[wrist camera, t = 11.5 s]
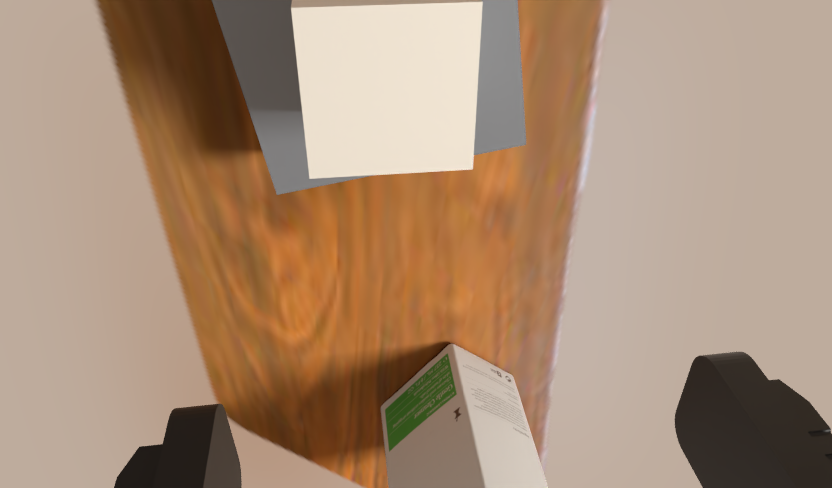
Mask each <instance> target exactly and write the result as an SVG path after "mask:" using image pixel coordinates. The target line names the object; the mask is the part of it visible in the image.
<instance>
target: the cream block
mask: <svg viewBox="0 0 832 488" xmlns="http://www.w3.org/2000/svg"><path fill="white" fill-rule="evenodd" d="M482 6H483V1H482V0H292V4H291V13H292V22H293V31H294V41H295V50H296V59H297V68H298V78H299V87H300V96H301V105H302V115H303V124H304V133H305V142H306V151H307V161H308V170H309V179H315V178H333V177H350V176H367V175H384V174H401V173H419V172H436V171H453V170H470V169H473V158H474V141H475V124H476V107H477V90H478V74H479V57H480V40H481V23H482Z"/></svg>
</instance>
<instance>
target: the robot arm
mask: <svg viewBox="0 0 832 488" xmlns="http://www.w3.org/2000/svg"><path fill="white" fill-rule="evenodd" d="M675 428H676V434H677V438H678V441H679V444H680V446H681V448H682V450H683V452H684V454H685V456H686V458H687V459H688V461H689V463H690V465H691V467H692V469H693V470H694V472H695V474H696V476H697V478H698V479H699V481H700V483H701V485H702V487H703V488H832V434H831V431H830V430H831V429H830V428H829V426H828V425H827V424H826V422H825V421H824V420H823V419H822V418H821V416H820V415H819V414H818V412H817V411H816V410H815V409H814V407H813V406H812V405H811V404H810V402H808V401H807V400H806V399H805V398H803V397H802V396H801V395H799V394H798V393H797V392H795V391H794V390H793V389H791V388H790V387H789V386H787V385H786V384H784V383H783V382H782V381H780V380H779V379H778V380H768V379H767V377H766V376H765V375H764V373H763V372H762V371H761V369H760V368H759V367H758V365H757V364H756V363H755V361H754V360H753V359H752V358H751V357H750V356H749V355H748V354H746V353H744V352H732V353H722V354H712V355H703V356H698V357H696V358H695V359H694V361H693V363H692V366H691V368H690V372H689V375H688V377H687V380H686V383H685V386H684V389H683V392H682V395H681V398H680V401H679V404H678V407H677V410H676V414H675ZM114 488H241V469H240V462H239V458H238V454H237V451H236V447H235V444H234V440H233V437H232V433H231V430H230V426H229V423H228V419H227V416H226V412H225V409H224V407H223V405H222V404H213V405H204V406H194V407H186V408H176V409H174V410H172V412H171V414H170V417H169V420H168V424H167V429H166V433H165V437H164V441H163V444H161V445H153V446H143V447H139V448H138V449H137V451H136V452H135V454H134V455H133V456H132V458H131V459H130V461H129V462H128V463H127V465H126V466H125V467H124V469H123V470H122V471H121V473H120V474H119V476H118V477H117V480H116V483H115V486H114Z"/></svg>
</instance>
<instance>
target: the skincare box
mask: <svg viewBox="0 0 832 488" xmlns="http://www.w3.org/2000/svg"><path fill="white" fill-rule="evenodd" d="M381 416H382V426H383V435H384V446H385V455H386V465H387V475H388V485H389V488H548V485H547V482H546V479H545V476H544V473H543V469H542V466H541V463H540V460H539V457H538V454H537V451H536V447H535V444H534V441H533V438H532V435H531V432H530V429H529V426H528V422H527V419H526V416H525V413H524V409H523V406H522V403H521V400H520V396H519V393H518V390H517V387H516V384H515V381H514V378H513V376H512V375H511V374H509V373H507V372H505V371H503V370H502V369H500V368H498V367H496V366H494V365H492V364H491V363H489V362H487V361H485V360H483V359H481V358H479V357H478V356H476V355H474V354H472V353H470V352H468V351H466V350H464V349H463V348H461V347H459V346H457V345H455V344H449V345H448V346H447V347H445V348H444V349H443V350H442V351H441V352H440V353H439V354H438V355H437V356H436V357H435V358H434V359H432V360H431V361H430V362H429V363H428V364H427V365H426V366H424V367H423V368H422V369H421V370H420V371H419V372H418V373H417V374H416V375H415V376H414V377H413V378H411V379H410V380H409V381H408V382H407V383H406V384H405V385H404V386H403V387H402V388H400V389H399V390H398V391H397V392H396V393H395V394H394V395H393V396H392V397H391V398H389V399H388V400H387V401H386V402H385V403H384V404H383V405H382V406H381Z"/></svg>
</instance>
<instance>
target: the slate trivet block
mask: <svg viewBox="0 0 832 488" xmlns="http://www.w3.org/2000/svg"><path fill="white" fill-rule="evenodd" d="M482 1H483V6H482V23H481V40H480V57H479V74H478V90H477V107H476V124H475V141H474V155H477V154H482V153H487V152H492V151H497V150H502V149H507V148H512V147H517V146H522V145H526V132H525V116H524V100H523V83H522V67H521V51H520V34H519V18H518V1H517V0H482ZM212 3H213V6H214V9H215V12H216V15H217V18H218V21H219V24H220V27H221V30H222V32H223V35H224V38H225V41H226V44H227V47H228V50H229V53H230V56H231V59H232V62H233V65H234V68H235V71H236V74H237V77H238V80H239V83H240V86H241V89H242V92H243V95H244V98H245V101H246V104H247V107H248V110H249V113H250V116H251V119H252V122H253V125H254V128H255V131H256V134H257V137H258V139H259V142H260V145H261V148H262V151H263V154H264V157H265V160H266V163H267V166H268V169H269V172H270V175H271V178H272V181H273V184H274V187H275V190H276V193H277V195H278V194H283V193H288V192H293V191H298V190H303V189H308V188H313V187H318V186H323V185H328V184H333V183H338V182H343V181H348V180H353V179H358V178H363V177H368V176H373V175H367V176H350V177H333V178H315V179H309V170H308V161H307V151H306V142H305V133H304V124H303V115H302V105H301V96H300V87H299V78H298V68H297V59H296V50H295V41H294V31H293V22H292V13H291V4H292V0H212Z"/></svg>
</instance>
